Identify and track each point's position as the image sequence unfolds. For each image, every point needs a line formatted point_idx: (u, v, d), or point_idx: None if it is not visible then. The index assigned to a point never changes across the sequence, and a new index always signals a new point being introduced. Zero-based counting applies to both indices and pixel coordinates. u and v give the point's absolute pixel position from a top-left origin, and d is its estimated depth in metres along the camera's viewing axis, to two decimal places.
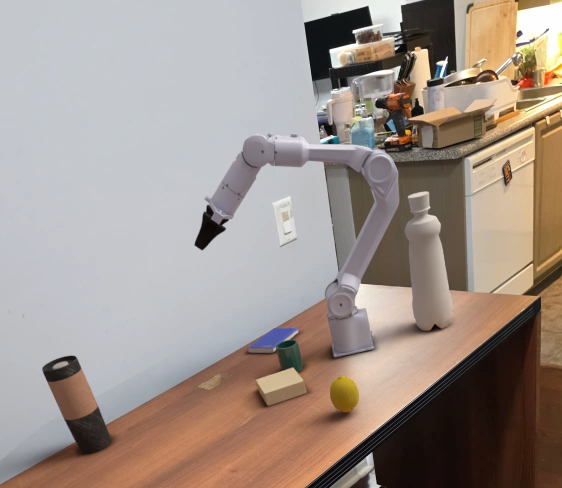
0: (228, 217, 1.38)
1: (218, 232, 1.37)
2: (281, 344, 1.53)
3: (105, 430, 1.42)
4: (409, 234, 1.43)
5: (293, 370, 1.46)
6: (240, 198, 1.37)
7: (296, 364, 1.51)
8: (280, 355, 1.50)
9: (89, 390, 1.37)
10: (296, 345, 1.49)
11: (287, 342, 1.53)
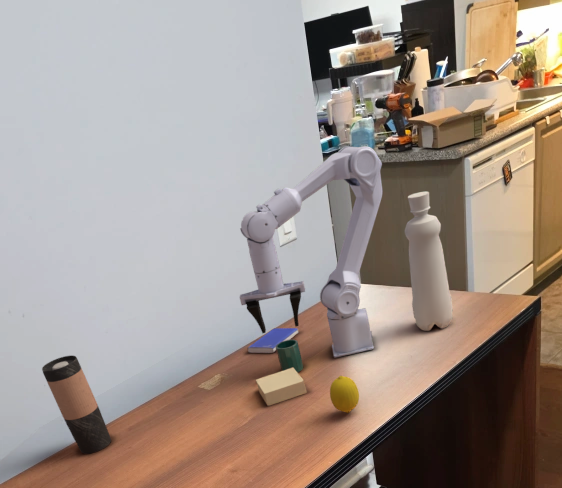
0: None
1: None
2: (281, 344, 1.53)
3: (105, 430, 1.42)
4: (409, 234, 1.43)
5: (293, 370, 1.46)
6: None
7: (296, 364, 1.51)
8: (280, 355, 1.50)
9: (89, 390, 1.37)
10: (296, 345, 1.49)
11: (287, 342, 1.53)
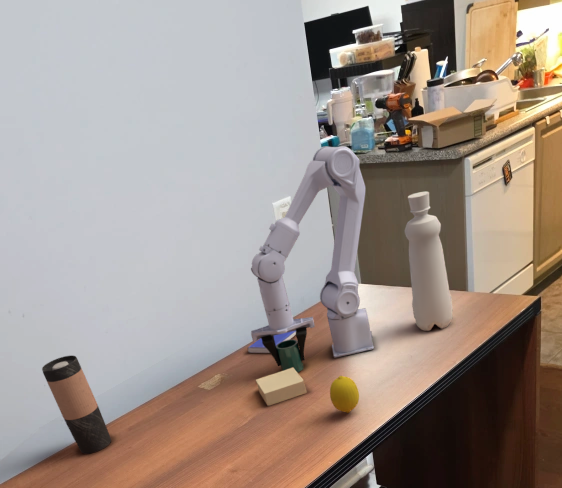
0: None
1: None
2: (281, 344, 1.53)
3: (105, 430, 1.42)
4: (409, 234, 1.43)
5: (293, 370, 1.46)
6: None
7: (296, 364, 1.51)
8: (280, 355, 1.50)
9: (89, 390, 1.37)
10: (296, 345, 1.49)
11: (287, 342, 1.53)
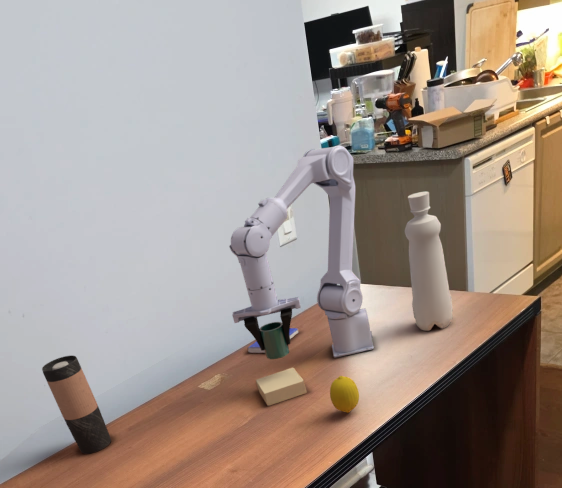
0: None
1: None
2: (265, 327, 1.42)
3: (105, 430, 1.42)
4: (409, 234, 1.43)
5: (293, 370, 1.46)
6: None
7: (281, 348, 1.41)
8: (264, 338, 1.40)
9: (89, 390, 1.37)
10: (281, 327, 1.39)
11: (272, 325, 1.43)
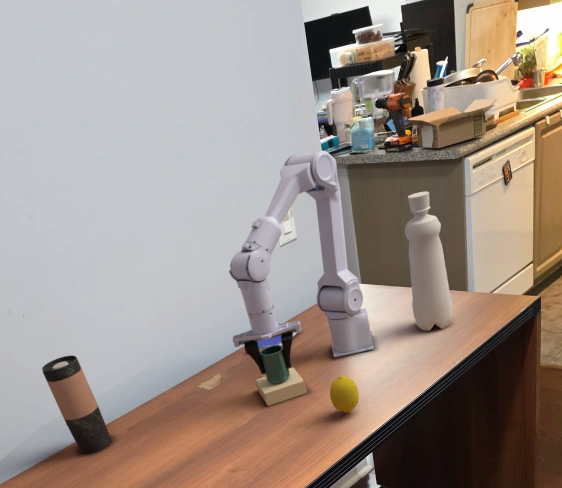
0: None
1: None
2: (266, 350, 1.41)
3: (105, 430, 1.42)
4: (409, 234, 1.43)
5: (293, 370, 1.46)
6: None
7: (282, 372, 1.40)
8: (264, 362, 1.39)
9: (89, 390, 1.37)
10: (282, 351, 1.38)
11: (272, 348, 1.41)
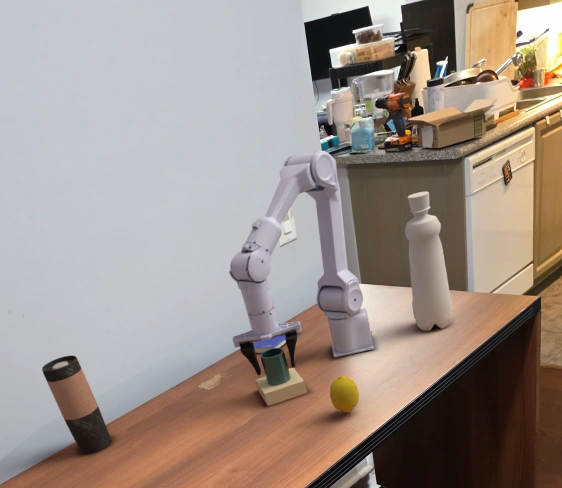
0: None
1: None
2: (266, 353, 1.42)
3: (105, 430, 1.42)
4: (409, 234, 1.43)
5: (293, 370, 1.46)
6: None
7: (282, 374, 1.40)
8: (265, 365, 1.39)
9: (89, 390, 1.37)
10: (282, 354, 1.38)
11: (273, 350, 1.42)
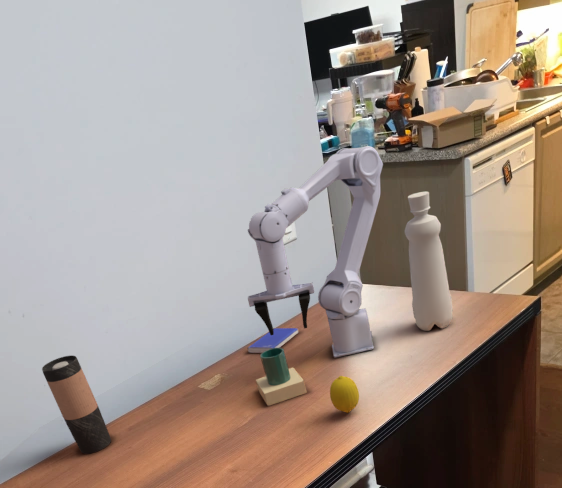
0: None
1: None
2: (266, 353, 1.42)
3: (105, 430, 1.42)
4: (409, 234, 1.43)
5: (293, 370, 1.46)
6: None
7: (282, 374, 1.40)
8: (265, 365, 1.39)
9: (89, 390, 1.37)
10: (282, 354, 1.38)
11: (273, 350, 1.42)
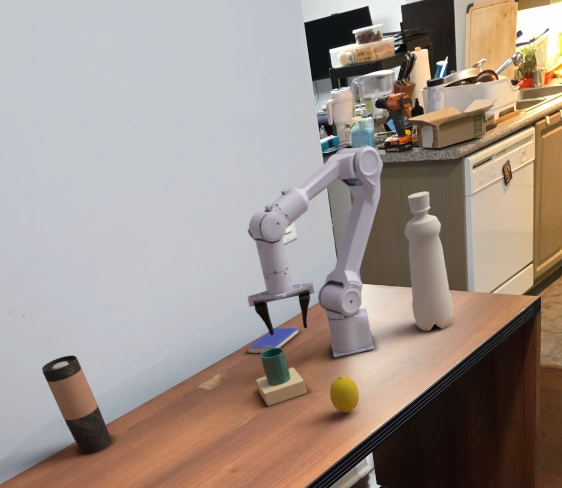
0: None
1: None
2: (266, 353, 1.42)
3: (105, 430, 1.42)
4: (409, 234, 1.43)
5: (293, 370, 1.46)
6: None
7: (282, 374, 1.40)
8: (265, 365, 1.39)
9: (89, 390, 1.37)
10: (282, 354, 1.38)
11: (273, 350, 1.42)
